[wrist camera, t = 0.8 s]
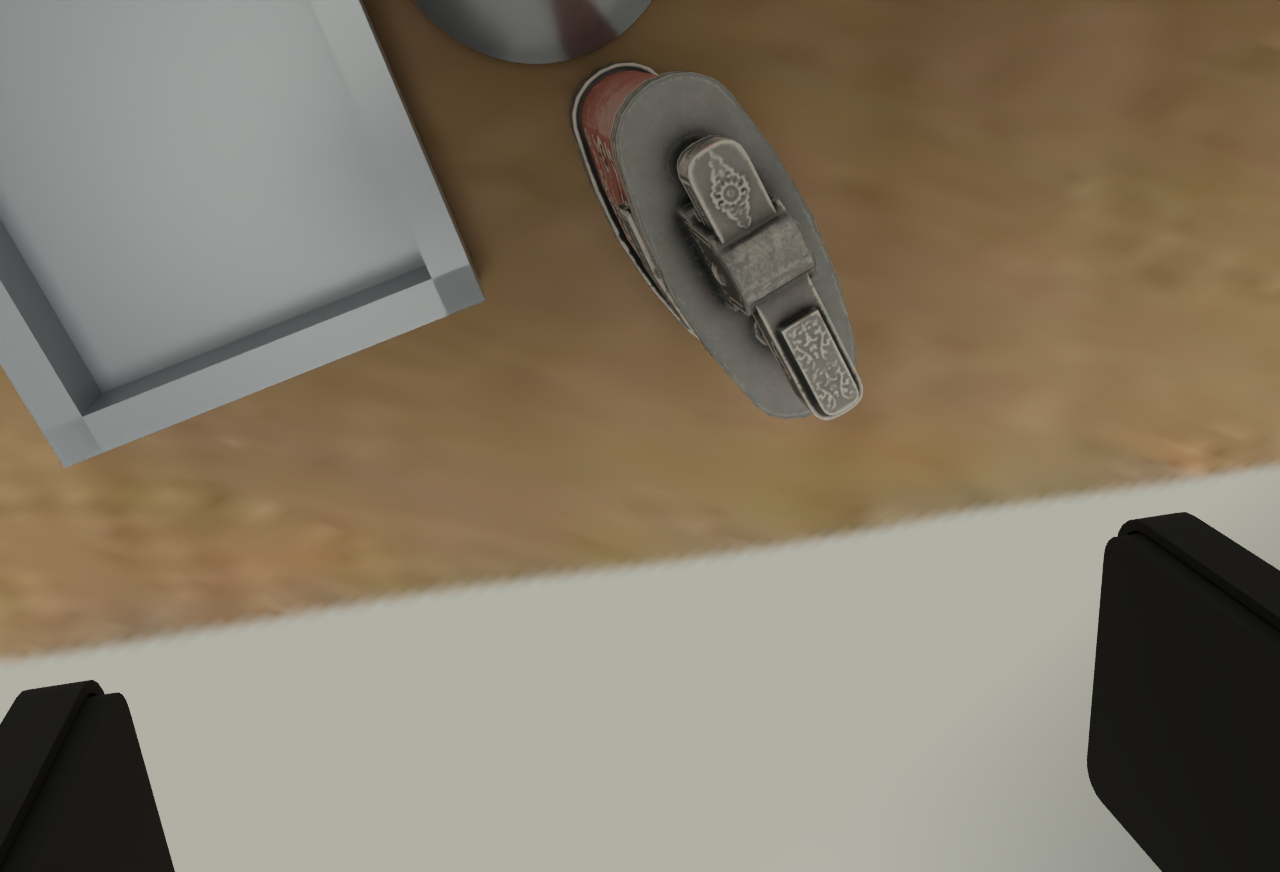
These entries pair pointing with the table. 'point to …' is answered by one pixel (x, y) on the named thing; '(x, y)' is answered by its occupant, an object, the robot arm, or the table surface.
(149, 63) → the tray
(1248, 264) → the table surface
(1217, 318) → the table surface
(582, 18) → the pot lid
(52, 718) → the robot arm
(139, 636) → the table surface
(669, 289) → the lighter
